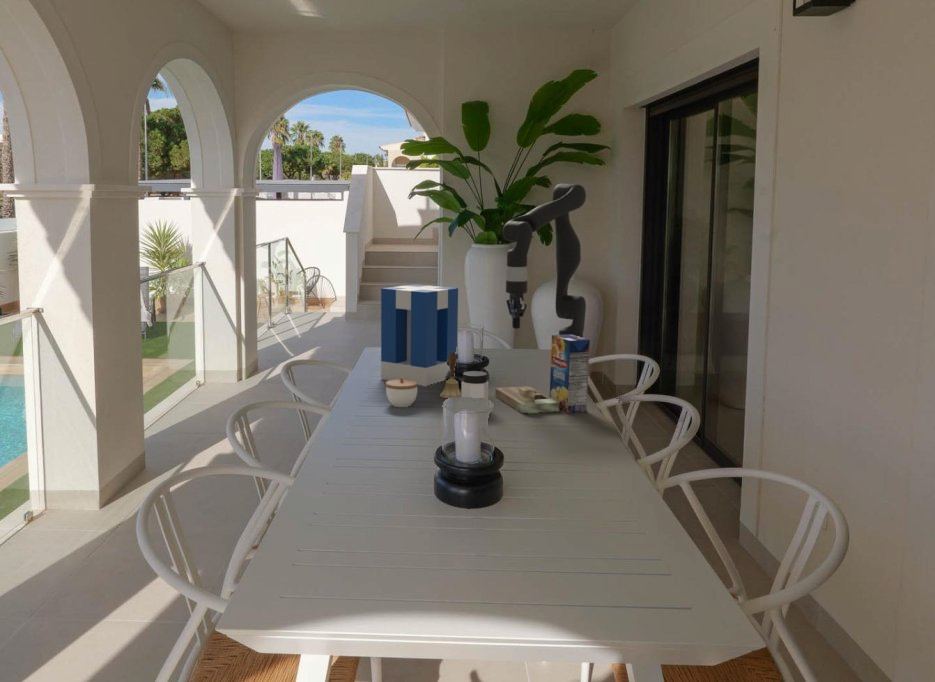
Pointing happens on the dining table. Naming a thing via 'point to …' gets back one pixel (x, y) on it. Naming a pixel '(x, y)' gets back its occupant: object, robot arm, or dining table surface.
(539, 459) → the dining table surface
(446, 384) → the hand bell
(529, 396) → the beech block
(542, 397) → the wooden compartment tray
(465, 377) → the jar
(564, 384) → the juice carton
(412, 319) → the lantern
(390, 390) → the lidded jar
